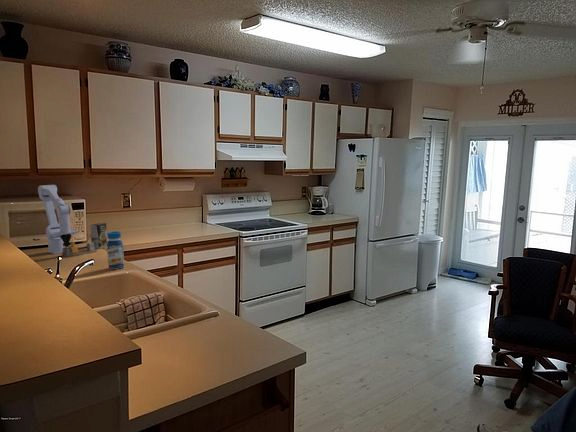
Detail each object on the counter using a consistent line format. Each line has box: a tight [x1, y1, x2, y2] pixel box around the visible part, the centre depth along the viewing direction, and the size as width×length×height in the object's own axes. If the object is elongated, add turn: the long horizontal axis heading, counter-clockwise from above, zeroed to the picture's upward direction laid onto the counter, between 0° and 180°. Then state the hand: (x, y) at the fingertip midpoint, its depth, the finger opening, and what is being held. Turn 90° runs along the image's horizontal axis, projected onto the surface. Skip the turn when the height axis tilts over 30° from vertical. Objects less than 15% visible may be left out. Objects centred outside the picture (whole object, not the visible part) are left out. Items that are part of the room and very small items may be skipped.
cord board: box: [61, 241, 98, 258], centre depth 275 cm, size 9×18×6 cm, turn 142°
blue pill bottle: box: [106, 230, 125, 270], centre depth 237 cm, size 8×8×20 cm
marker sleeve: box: [67, 240, 79, 253], centre depth 272 cm, size 4×4×7 cm
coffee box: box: [89, 222, 108, 250], centre depth 292 cm, size 9×6×16 cm
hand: (66, 246), depth 269 cm, fingers closed
